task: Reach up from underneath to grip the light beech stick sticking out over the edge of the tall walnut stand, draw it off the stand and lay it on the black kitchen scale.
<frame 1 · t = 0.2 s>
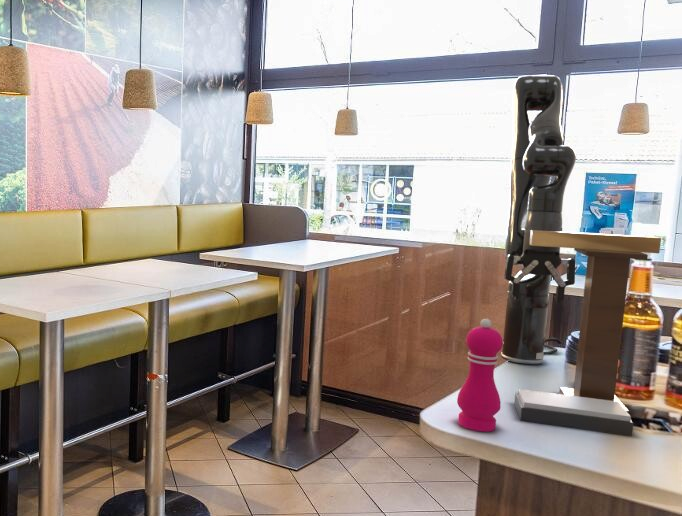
hand: (536, 301, 162), 17 cm above the table, tool pointing down, fingers open, 8 cm apart
stand: (592, 405, 142), on the table
pepper mill: (476, 426, 128), on the table
scale: (569, 419, 133), on the table
beech stick: (591, 248, 139), point 32 cm above the table, touching stand
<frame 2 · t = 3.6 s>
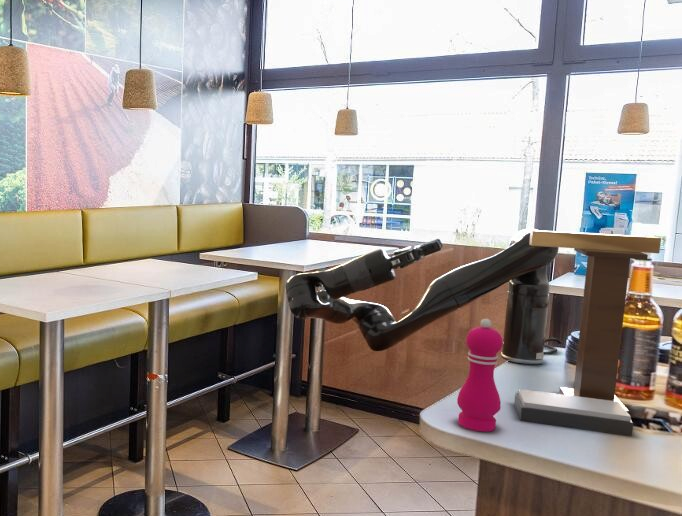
hand: (440, 243, 151), 31 cm above the table, tool pointing upward, fingers open, 8 cm apart
nothing on the table moved.
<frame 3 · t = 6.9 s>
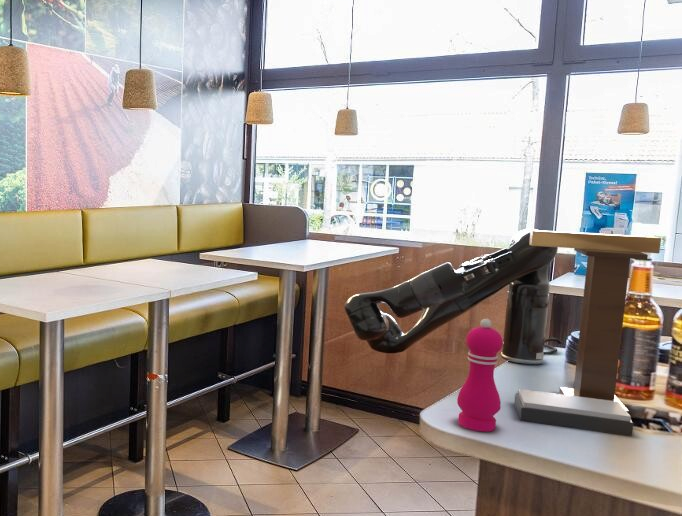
hand: (512, 253, 145), 30 cm above the table, tool pointing upward, fingers open, 8 cm apart
nothing on the table moved.
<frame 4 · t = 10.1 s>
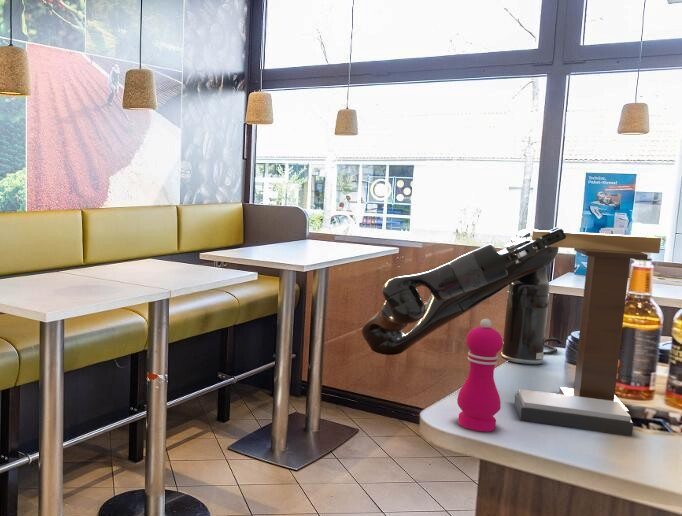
hand: (561, 232, 141), 35 cm above the table, tool pointing upward, fingers closed on beech stick, 3 cm apart
beech stick: (591, 248, 139), point 32 cm above the table, touching gripper, stand
everything else where it was.
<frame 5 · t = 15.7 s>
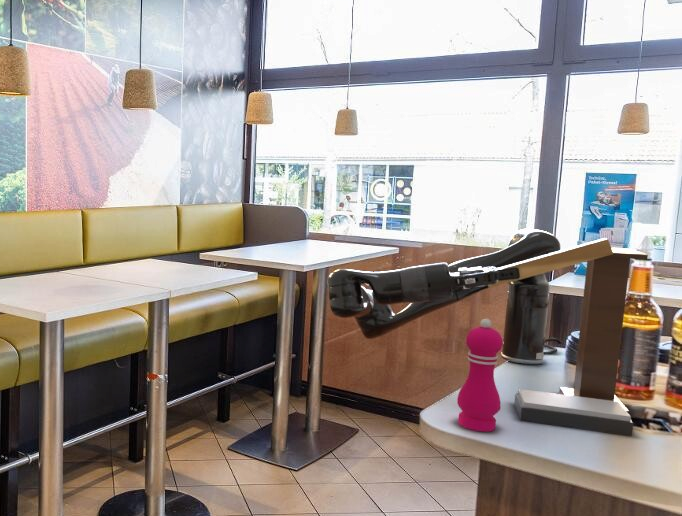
hand: (517, 271, 137), 27 cm above the table, tool horizontal, fingers closed on beech stick, 3 cm apart
beech stick: (548, 270, 135), point 28 cm above the table, tilted 22°, touching gripper
everything else where it was.
when the fingers open (5 cm above the table, at t = 21.5 s): beech stick stays where it is, resting on scale.
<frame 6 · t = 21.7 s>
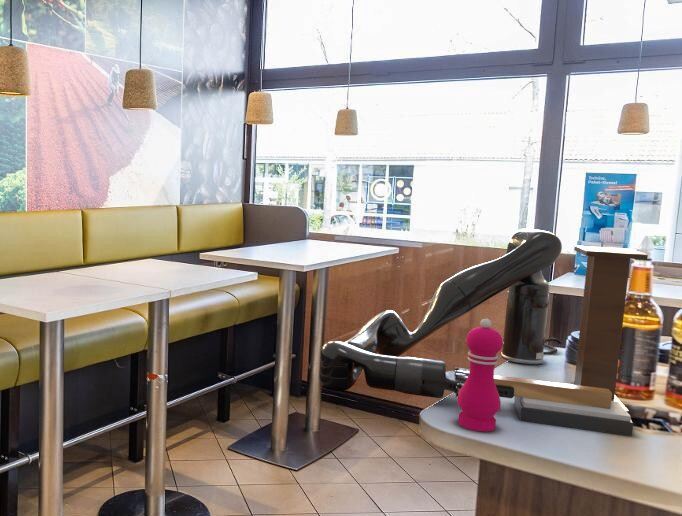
hand: (511, 388, 136), 5 cm above the table, tool horizontal, fingers open, 5 cm apart
beech stick: (542, 398, 134), point 3 cm above the table, touching scale
everything else where it was.
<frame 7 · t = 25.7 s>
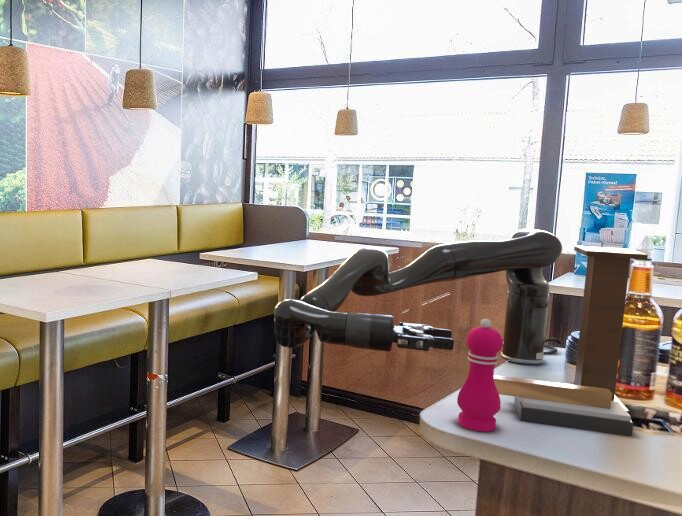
hand: (452, 339, 141), 13 cm above the table, tool horizontal, fingers open, 8 cm apart
nothing on the table moved.
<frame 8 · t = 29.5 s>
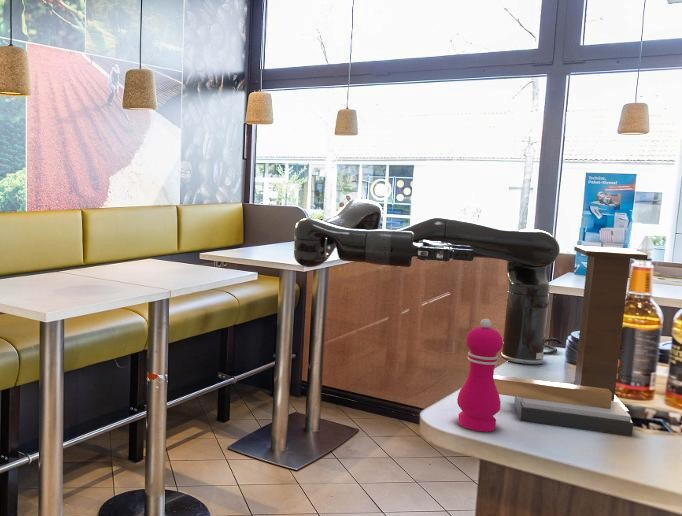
hand: (472, 253, 142), 30 cm above the table, tool horizontal, fingers open, 8 cm apart
nothing on the table moved.
at the end: beech stick inside the target area on the scale (4.9 cm from its centre), point 3.5 cm above the scale's base; the gripper is holding nothing; beech stick moved 31.9 cm from its start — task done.
